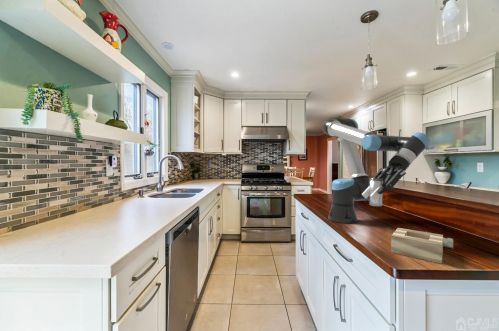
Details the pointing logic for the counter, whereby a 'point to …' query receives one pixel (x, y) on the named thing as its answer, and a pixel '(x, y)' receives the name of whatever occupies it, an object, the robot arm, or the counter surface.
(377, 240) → the counter surface
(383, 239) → the counter surface
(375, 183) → the capped cylinder
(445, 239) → the pipe fitting
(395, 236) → the socket block
